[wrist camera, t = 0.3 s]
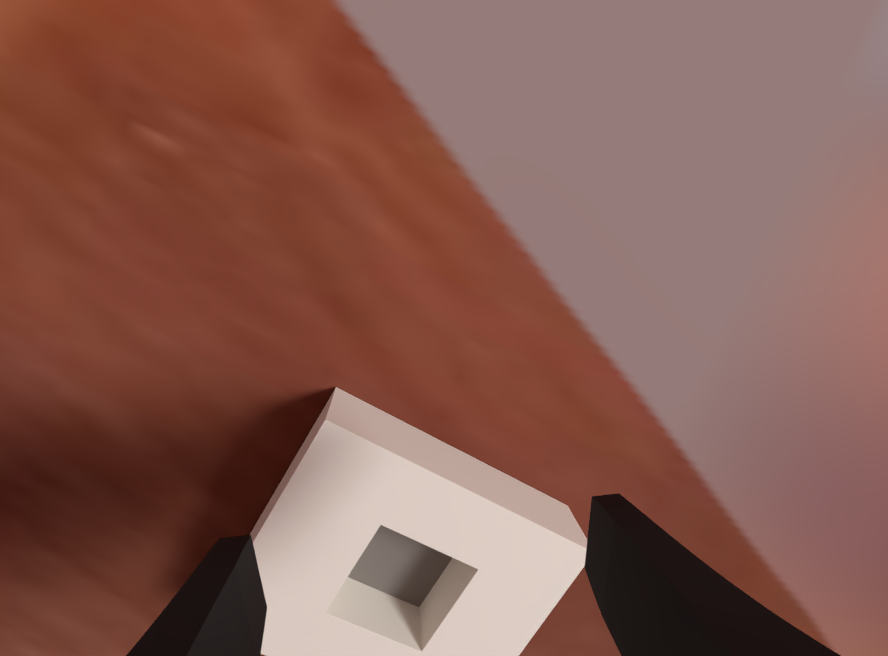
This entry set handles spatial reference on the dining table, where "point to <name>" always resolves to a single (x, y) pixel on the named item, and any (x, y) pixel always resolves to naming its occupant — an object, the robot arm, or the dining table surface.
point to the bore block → (406, 546)
